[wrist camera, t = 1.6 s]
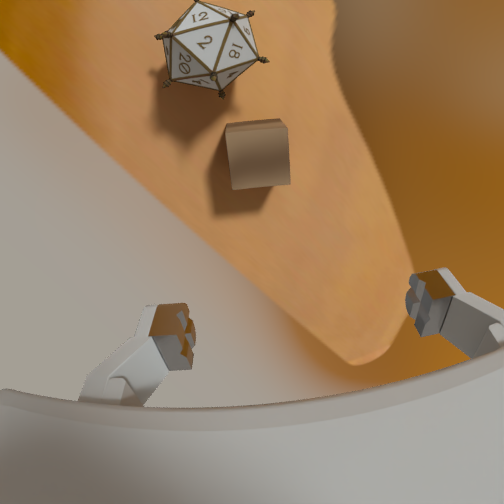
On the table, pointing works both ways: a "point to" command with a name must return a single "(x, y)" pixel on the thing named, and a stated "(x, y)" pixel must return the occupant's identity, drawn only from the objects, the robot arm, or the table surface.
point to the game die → (209, 47)
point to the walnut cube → (258, 153)
